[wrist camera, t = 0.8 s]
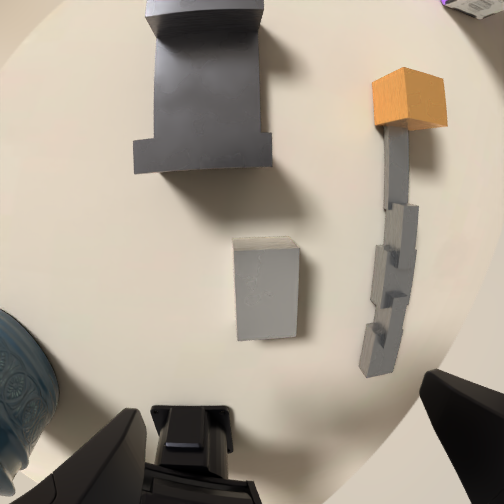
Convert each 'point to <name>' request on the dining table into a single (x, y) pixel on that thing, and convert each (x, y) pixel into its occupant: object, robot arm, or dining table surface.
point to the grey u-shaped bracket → (205, 87)
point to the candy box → (476, 7)
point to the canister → (22, 398)
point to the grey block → (265, 287)
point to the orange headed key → (397, 208)
